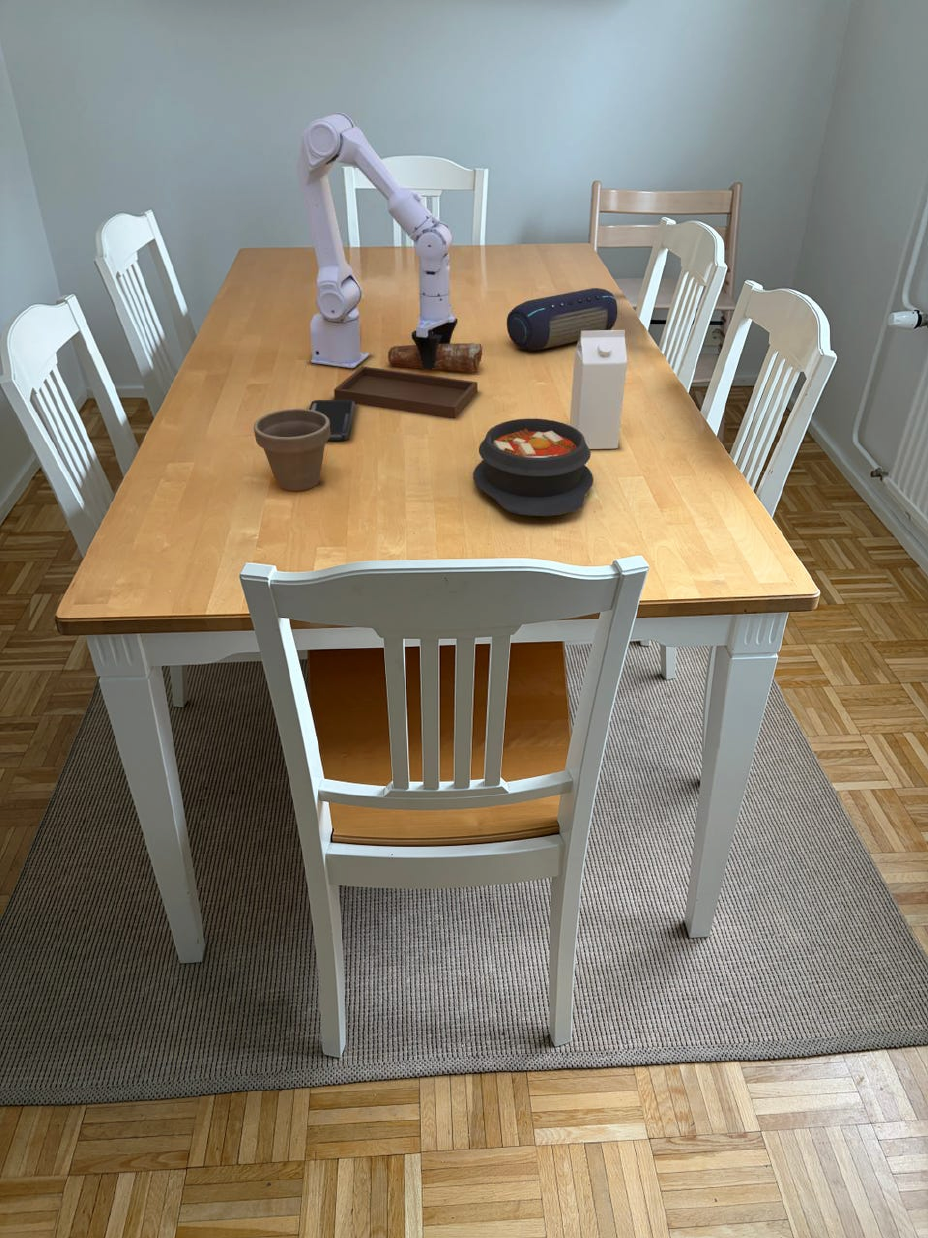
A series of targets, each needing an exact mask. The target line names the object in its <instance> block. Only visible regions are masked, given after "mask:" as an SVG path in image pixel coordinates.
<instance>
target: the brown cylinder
mask: <svg viewBox="0 0 928 1238" xmlns="http://www.w3.org/2000/svg"><path fill="white" fill-rule="evenodd" d="M482 357H483V345H482V344H481V343H474V342H471V343H465V342H464V343H463V342H462V343H461V342H458V343H450V344H438V348H437V353H436V362H435V367H434V369H433V370H441V371H453V372H454V371H455V372H463V373H474V372H478V371H479V369H480V368H479V367H480V366H479V365H480V362H481V361H482ZM387 361H388V363H389V364H390V365H391V366H394V367H395V366H396V367H404V368H405V367H406V368H413V369H414V368H415V369H423V370H426V369H425V368H423V365H422V362H421V358H420V354H419V351H418V348H417V346H416V344H407V345H394V346H392V347H391V348H390V349H389V350H388V353H387Z"/></svg>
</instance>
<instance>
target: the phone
mask: <svg viewBox="0 0 928 1238" xmlns="http://www.w3.org/2000/svg"><path fill="white" fill-rule="evenodd" d="M355 404H356V403H355V402H354V401H352V400H335V399H315V400H312V401H311V402H310V406H309V409H308V410H313V411H317V412H320V413H322V414H324V415H326V416H327V417H328V419H329V421H330V438H329V439H328V441H327V442H344V441H347V440H349V439H350V435H351V430H352V424H353V421H354V416H355V415H354V414H355V410H356V405H355Z"/></svg>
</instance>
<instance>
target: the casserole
mask: <svg viewBox="0 0 928 1238" xmlns="http://www.w3.org/2000/svg"><path fill="white" fill-rule="evenodd" d="M478 454H479V456H480V458H481V459H482V460H481V461H480V463H478V464H477V466H475V468H474V470H473V472H472V477H473V478H472V479H473V481H474V483H475V485H476V486H477V487H478V488H479V489H480V490H481V491H482V492H484V493H485V494H486V495H488V496H490V497H491V498H493V499H494V500H495V501H496V502H497V503H498V504H499V505H500V506H501V507H502V508H503V509H504V510H505V511H508V512H510V513H513V514H517V515H522V516H531V517H549V516H560V515H565V514H570V513H572V512H575V511H578V510H580V509H581V508H582V507H583V506H584V503H585V498H586V495H587V494H588V493H589V491H590V489H591V488H592V487H593V485H594V475H593V473H592V471H591V470H590V468H589V467H587V466H586V464H587V463H588V462H589V460H590V459H591V455H592V453H591V449H589V447H588V446H587V444H586V443H585V439H584V436H583V435H582V433H581V432H579V431H578V430H577V429H575V428H573V427H572V426H569V424H568V423H564V422H561V421H557V420H552V419H545V418H517V419H511V420H506V421H504V422H501V423H498V424H496V425H494V426H493V427H491V428H490V429H489V430H488V431H487V433H486V435H485V437H484V439H483V441H481V443H480V444H479V447H478Z"/></svg>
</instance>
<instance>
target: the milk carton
mask: <svg viewBox="0 0 928 1238" xmlns="http://www.w3.org/2000/svg"><path fill="white" fill-rule="evenodd" d="M625 336H626V329H610V330H596V331H581V337H580V340H579V341H577V344H576V346H575V348H574V361H573V373H572V384H571V385H572V386H571V400H570V410H569V411H570V412H569V424H568V425H569V426H572V427H573V428H575V429H577V430H578V431H579V432H581V433H582V435H583V436H584V439H585V443H586V444H587V446H588V447H589V449H590V450H606V449H607V450H609V449H618V447H619V439H620V431H621V422H622V412H623V403H624V395H625V394H624V393H625V385H626V378H627V377H626V375H627V369H628V368H627V367H628V358H627V357H628V356H627V347H626V337H625Z"/></svg>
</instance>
